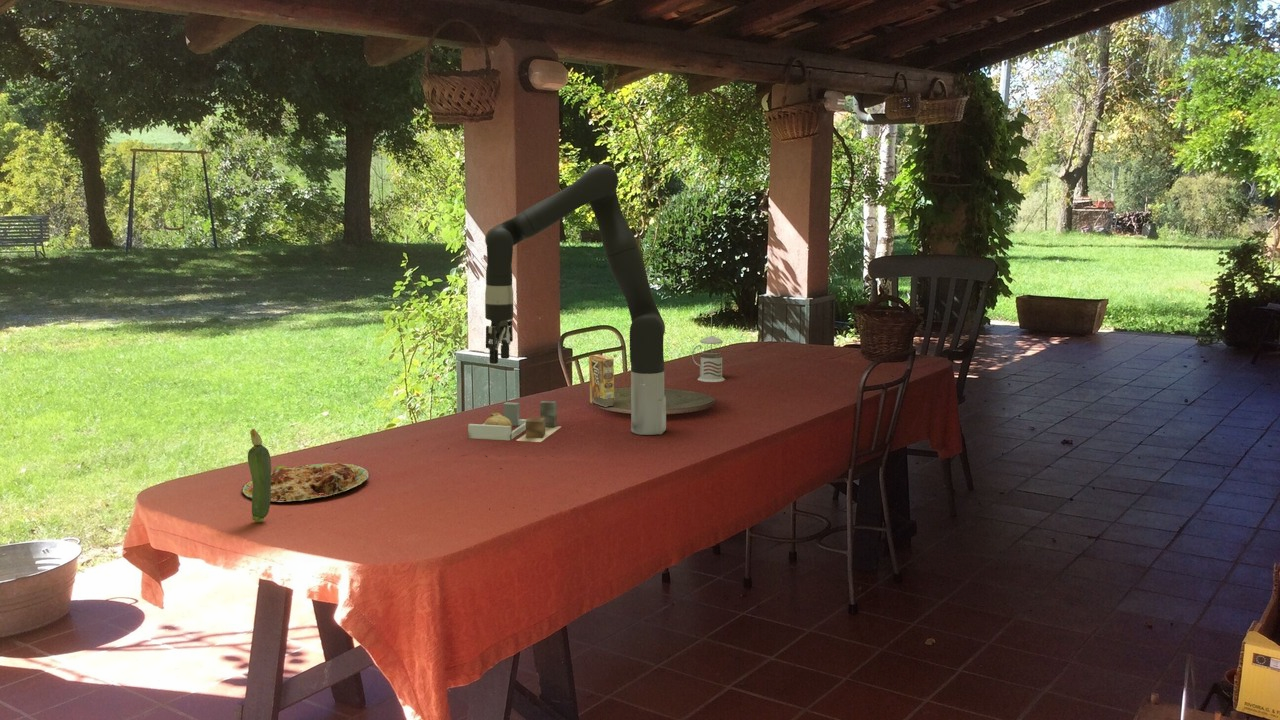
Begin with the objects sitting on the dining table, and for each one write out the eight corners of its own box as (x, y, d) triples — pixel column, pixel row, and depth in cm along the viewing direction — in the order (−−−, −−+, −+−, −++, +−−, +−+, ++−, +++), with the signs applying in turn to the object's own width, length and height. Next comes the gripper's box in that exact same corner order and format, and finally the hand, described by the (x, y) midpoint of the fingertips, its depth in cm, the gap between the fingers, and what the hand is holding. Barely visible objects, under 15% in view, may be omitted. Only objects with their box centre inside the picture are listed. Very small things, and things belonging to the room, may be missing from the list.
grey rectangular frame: (533, 427, 289) (532, 403, 288) (510, 443, 271) (509, 417, 270) (493, 425, 292) (493, 401, 290) (468, 441, 274) (467, 415, 273)
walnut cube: (545, 434, 278) (544, 417, 277) (542, 438, 273) (542, 421, 272) (528, 433, 278) (528, 417, 277) (526, 437, 273) (525, 421, 273)
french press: (726, 381, 357) (726, 311, 353) (692, 382, 357) (693, 311, 353) (724, 376, 367) (724, 307, 362) (691, 376, 367) (692, 307, 363)
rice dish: (245, 517, 216) (243, 493, 215) (239, 478, 241) (237, 456, 240) (379, 501, 228) (378, 477, 226) (360, 465, 252) (359, 444, 251)
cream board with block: (562, 430, 287) (561, 401, 286) (541, 446, 269) (540, 416, 268) (538, 428, 289) (537, 400, 287) (515, 445, 271) (515, 414, 269)
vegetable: (266, 517, 212) (260, 423, 209) (279, 521, 210) (273, 426, 206) (247, 523, 208) (240, 427, 205) (260, 527, 206) (254, 430, 203)
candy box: (615, 406, 318) (614, 357, 316) (603, 407, 316) (603, 359, 313) (600, 401, 325) (599, 354, 323) (588, 403, 323) (588, 355, 321)
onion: (515, 434, 282) (515, 409, 281) (509, 442, 274) (508, 416, 273) (487, 434, 283) (486, 409, 282) (480, 441, 275) (479, 415, 274)
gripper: (503, 305, 267) (503, 366, 270) (521, 299, 281) (521, 357, 283) (476, 304, 269) (476, 364, 271) (495, 298, 282) (496, 356, 285)
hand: (499, 360), depth 277 cm, fingers open, 8 cm apart
